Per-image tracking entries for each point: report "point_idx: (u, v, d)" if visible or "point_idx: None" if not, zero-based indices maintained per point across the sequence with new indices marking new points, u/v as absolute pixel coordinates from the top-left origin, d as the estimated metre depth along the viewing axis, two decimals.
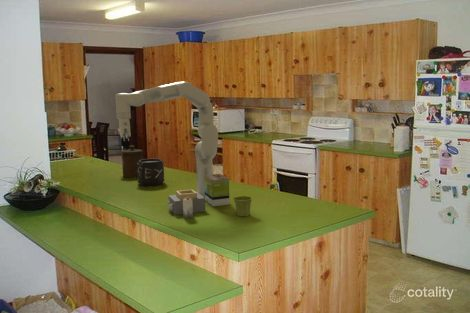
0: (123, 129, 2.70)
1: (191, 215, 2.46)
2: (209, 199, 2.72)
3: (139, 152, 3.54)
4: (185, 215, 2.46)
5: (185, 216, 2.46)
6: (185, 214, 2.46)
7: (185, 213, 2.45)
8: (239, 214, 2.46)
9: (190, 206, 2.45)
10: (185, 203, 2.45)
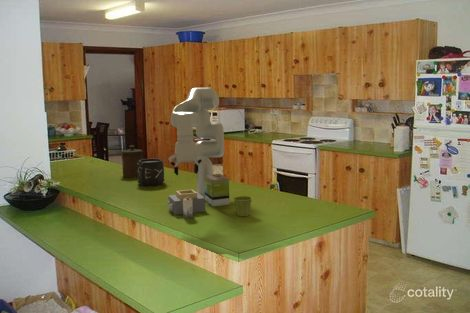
0: None
1: (191, 215, 2.46)
2: (209, 199, 2.72)
3: (139, 152, 3.54)
4: (185, 215, 2.46)
5: (185, 216, 2.46)
6: (185, 214, 2.46)
7: (185, 213, 2.45)
8: (239, 214, 2.46)
9: (190, 206, 2.45)
10: (185, 203, 2.45)
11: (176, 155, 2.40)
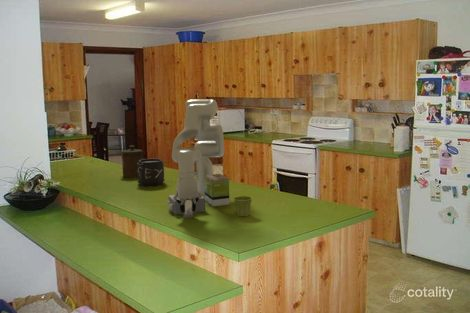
0: None
1: (191, 215, 2.46)
2: (209, 199, 2.72)
3: (139, 152, 3.54)
4: (185, 215, 2.46)
5: (185, 216, 2.46)
6: (185, 214, 2.46)
7: (185, 213, 2.45)
8: (239, 214, 2.46)
9: (190, 206, 2.45)
10: (185, 203, 2.45)
11: (178, 192, 2.43)
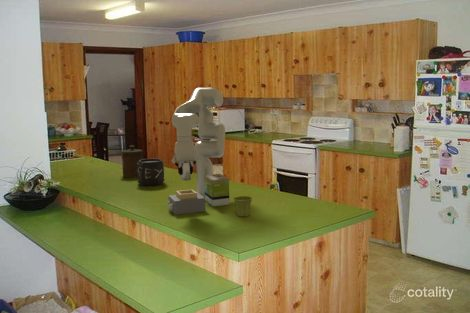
0: None
1: (189, 177, 2.58)
2: (209, 199, 2.72)
3: (139, 152, 3.54)
4: (182, 177, 2.57)
5: (183, 178, 2.57)
6: (183, 176, 2.57)
7: (183, 175, 2.57)
8: (239, 214, 2.46)
9: (188, 168, 2.57)
10: (183, 166, 2.56)
11: (176, 155, 2.54)
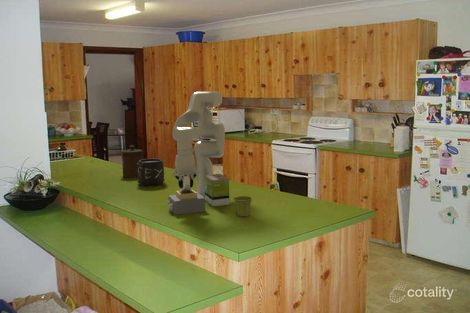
0: None
1: (189, 190, 2.59)
2: (209, 199, 2.72)
3: (139, 152, 3.54)
4: (183, 191, 2.58)
5: (183, 191, 2.58)
6: (183, 189, 2.58)
7: (183, 188, 2.58)
8: (239, 214, 2.46)
9: (188, 182, 2.58)
10: (183, 179, 2.57)
11: (176, 168, 2.55)
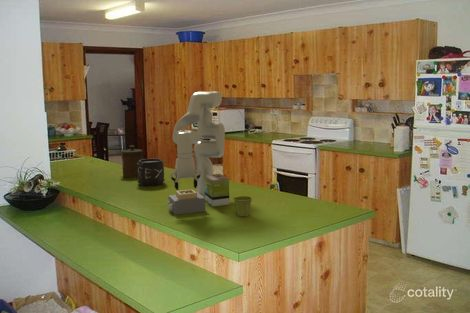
0: None
1: None
2: (209, 199, 2.72)
3: (139, 152, 3.54)
4: None
5: None
6: None
7: None
8: (239, 214, 2.46)
9: None
10: None
11: (176, 171, 2.56)
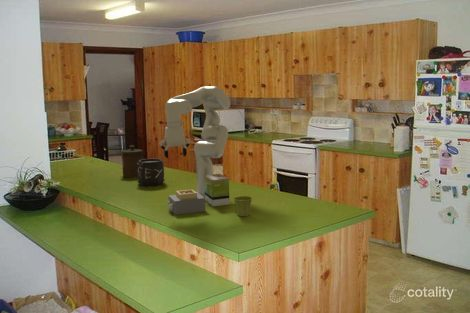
0: None
1: None
2: (209, 199, 2.72)
3: (139, 152, 3.54)
4: None
5: None
6: None
7: None
8: (239, 214, 2.46)
9: None
10: None
11: (166, 140, 2.61)
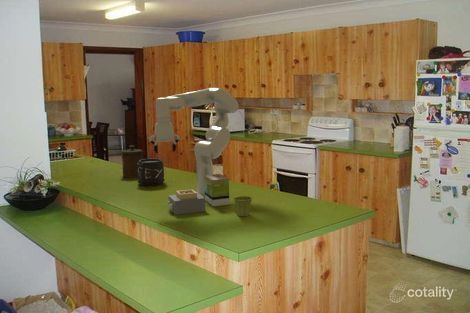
0: (173, 133, 2.73)
1: None
2: (209, 199, 2.72)
3: (139, 152, 3.54)
4: None
5: None
6: None
7: None
8: (239, 214, 2.46)
9: None
10: None
11: (155, 135, 2.70)
